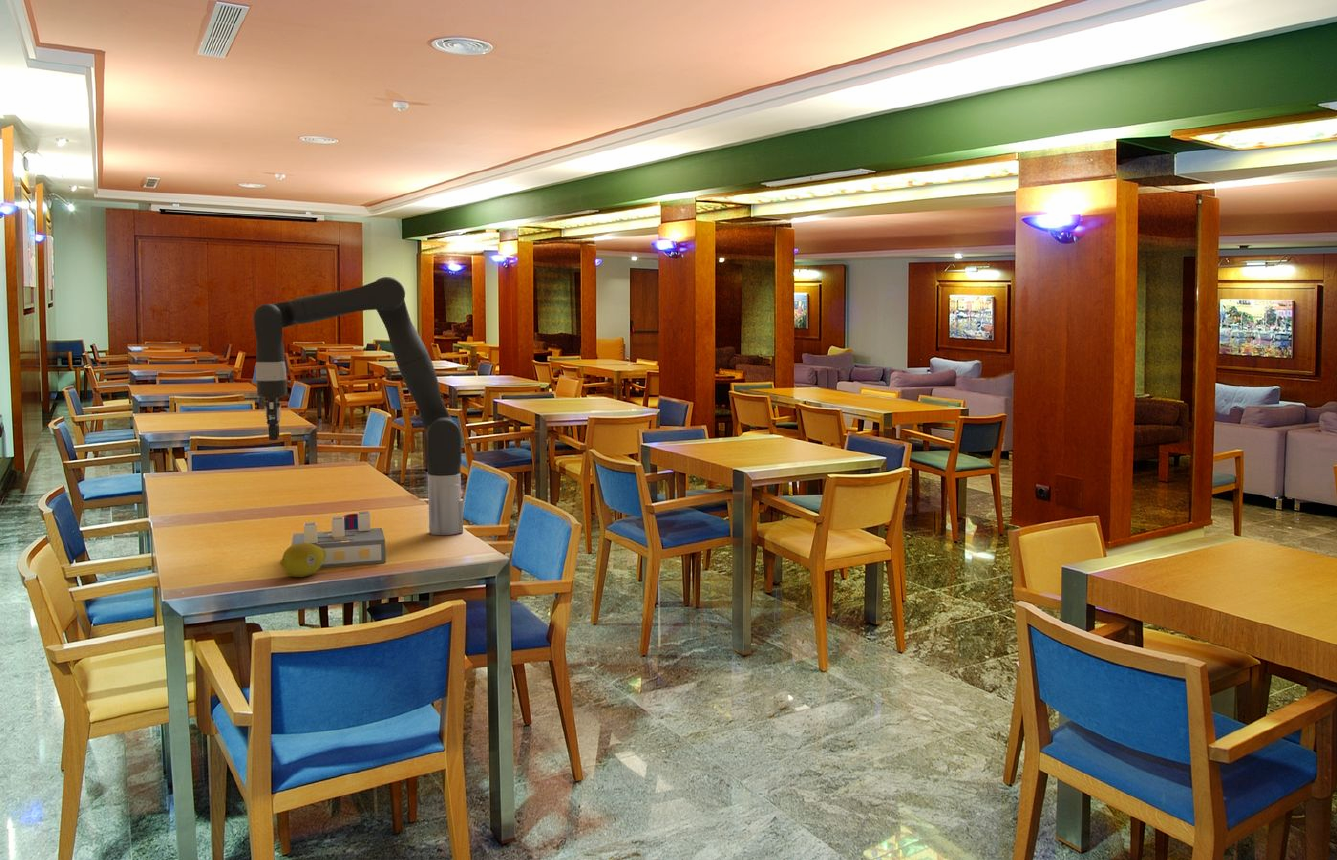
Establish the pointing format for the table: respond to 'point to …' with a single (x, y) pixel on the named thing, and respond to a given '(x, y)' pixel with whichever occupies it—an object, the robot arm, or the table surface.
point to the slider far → (364, 521)
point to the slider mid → (338, 527)
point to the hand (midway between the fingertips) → (274, 438)
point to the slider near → (310, 532)
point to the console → (349, 547)
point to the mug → (351, 522)
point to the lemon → (302, 559)
